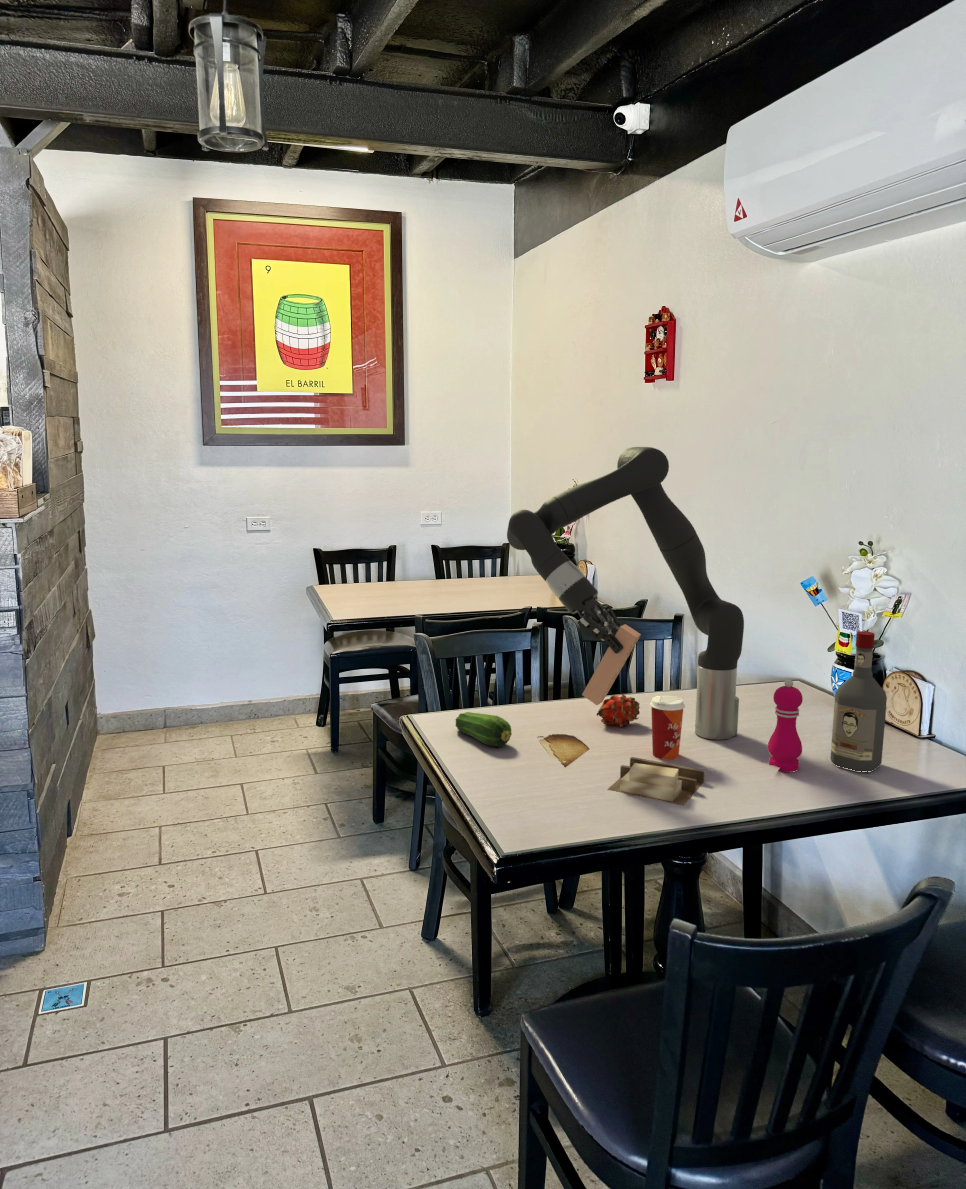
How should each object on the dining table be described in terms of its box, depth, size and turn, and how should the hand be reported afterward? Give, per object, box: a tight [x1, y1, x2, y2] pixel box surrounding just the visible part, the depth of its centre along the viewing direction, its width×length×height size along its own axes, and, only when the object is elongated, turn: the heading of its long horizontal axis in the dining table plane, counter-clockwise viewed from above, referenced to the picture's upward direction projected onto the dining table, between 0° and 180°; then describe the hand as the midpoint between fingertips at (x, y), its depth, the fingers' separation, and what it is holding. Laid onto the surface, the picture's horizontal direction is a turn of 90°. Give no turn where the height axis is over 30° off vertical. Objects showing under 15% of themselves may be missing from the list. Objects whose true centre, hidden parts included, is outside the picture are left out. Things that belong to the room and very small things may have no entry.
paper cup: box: [649, 694, 686, 761], centre depth 199 cm, size 8×8×14 cm
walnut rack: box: [607, 756, 706, 806], centre depth 183 cm, size 16×14×4 cm
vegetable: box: [455, 711, 512, 748], centre depth 214 cm, size 7×7×20 cm
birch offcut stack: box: [620, 763, 682, 802], centre depth 180 cm, size 11×6×5 cm, turn 60°
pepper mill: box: [767, 679, 803, 773], centre depth 194 cm, size 7×7×20 cm
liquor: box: [830, 630, 888, 772], centre depth 194 cm, size 9×9×30 cm
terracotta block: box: [581, 624, 642, 706], centre depth 188 cm, size 4×3×18 cm
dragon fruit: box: [596, 693, 641, 728], centre depth 224 cm, size 8×8×12 cm
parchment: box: [536, 733, 590, 768], centre depth 205 cm, size 25×10×1 cm, turn 10°
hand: (623, 648), depth 186 cm, fingers closed on terracotta block, 3 cm apart
